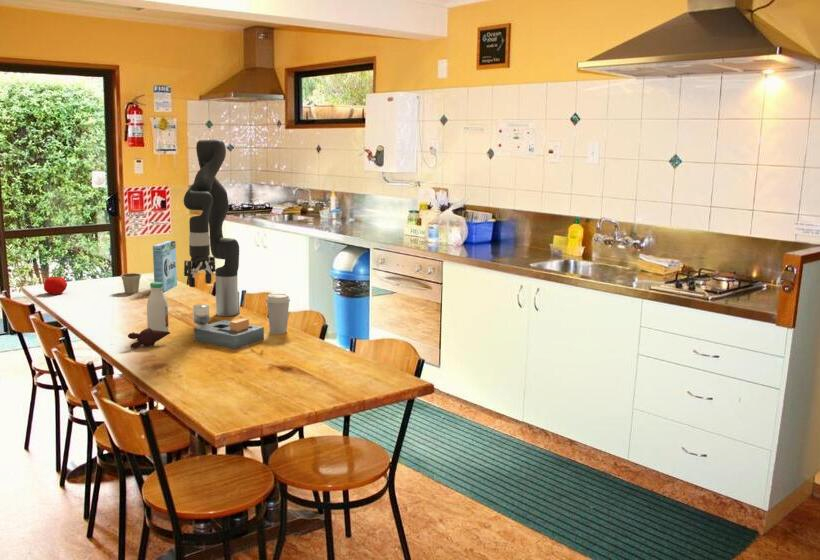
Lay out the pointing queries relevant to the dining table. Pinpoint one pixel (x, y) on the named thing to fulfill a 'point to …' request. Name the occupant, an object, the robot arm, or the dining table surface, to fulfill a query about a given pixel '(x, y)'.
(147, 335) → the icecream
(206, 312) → the grey white cylinder
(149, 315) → the milk bottle
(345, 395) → the dining table surface
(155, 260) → the gum box
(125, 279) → the flower pot
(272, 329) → the coffee cup
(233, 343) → the jig
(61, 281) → the tomato
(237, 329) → the block
